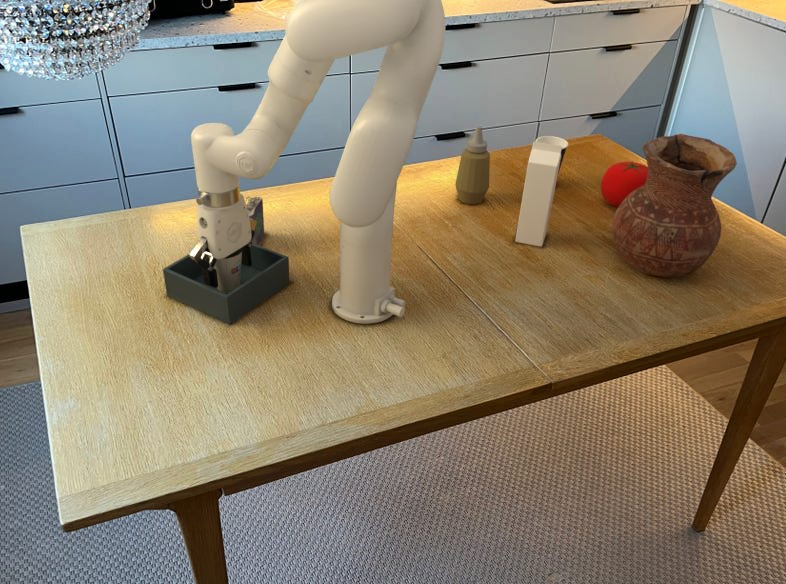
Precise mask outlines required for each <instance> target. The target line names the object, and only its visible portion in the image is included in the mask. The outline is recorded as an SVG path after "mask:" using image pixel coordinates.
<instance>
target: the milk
mask: <svg viewBox="0 0 786 584" xmlns="http://www.w3.org/2000/svg"><path fill="white" fill-rule="evenodd" d="M561 149H562V147H561V146H558V145H552V144H545V143H539V142H536V141H533V143H532V146H531V150H530V155H529V158H528V160H527V161H528V162H527V167H526V173H525V179H524V186H523V192H522V197H521V204H520V208H519V209H520V210H519V216H518V220H517V221H518V222H517V226H516V227H517V228H516V234H515V239H514V241H515V243H520V244H523V245H529V246H535V247H543V245H544V242H545V239H546V237H547V234H548V233H547V232H548V227H549V223H550V218H551V212H552V206H553V201H554V196H555V190H556V185H557V181H558V177H557V176H559V173H558V171H559V172H560V170H559V165H560V160H561Z"/></svg>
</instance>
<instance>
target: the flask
mask: <svg viewBox="0 0 786 584" xmlns="http://www.w3.org/2000/svg"><path fill="white" fill-rule="evenodd" d="M245 202H247V203H246V205H247V209H248V214H249V218H251V219H254V220H256V221H257V223H256V227H255V230H254V231H255V235H254V237H253V239H252V243H254V244H257V245H259V246H261V242H263V239H264V237H265V236H266V234H265V220H264V201H263V197H261V196H254V197H252V196H251V197H250V196H247V197H246V198H245Z"/></svg>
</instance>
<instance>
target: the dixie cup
mask: <svg viewBox="0 0 786 584" xmlns="http://www.w3.org/2000/svg"><path fill="white" fill-rule="evenodd" d="M535 142H539V143H545V144H552V145H558V146H561V147H562V149H561V160H560V165H559V171H558V174H559V173H560V170H561V167H562V163H563V161H564V158H565V154H566V150H567V148H568V147H569V142H568V141H567V140H566V139H564V138H562V137H558V136H554V135H544V136H540V137H537V138H536V139H535ZM558 176H559V175H558ZM558 176H557V178H558Z"/></svg>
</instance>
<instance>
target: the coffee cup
mask: <svg viewBox="0 0 786 584" xmlns="http://www.w3.org/2000/svg"><path fill="white" fill-rule="evenodd" d="M242 250H243V247H242V248H240V249H238V250H237V251H235V252H233V253H232V254H230V255H228V256H227V257H225V258H223V259H221V260H218V259H217V261H216V263H215V266H214V269H216V271H217V279H218V287H217V289H218V290H219V291H220V292H223V293H230V292H231V291H233V290H234V289H236V288H237V287H239V286H240V284H241V260H242ZM209 252H210V251H209ZM209 259H211V256H209Z"/></svg>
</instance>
